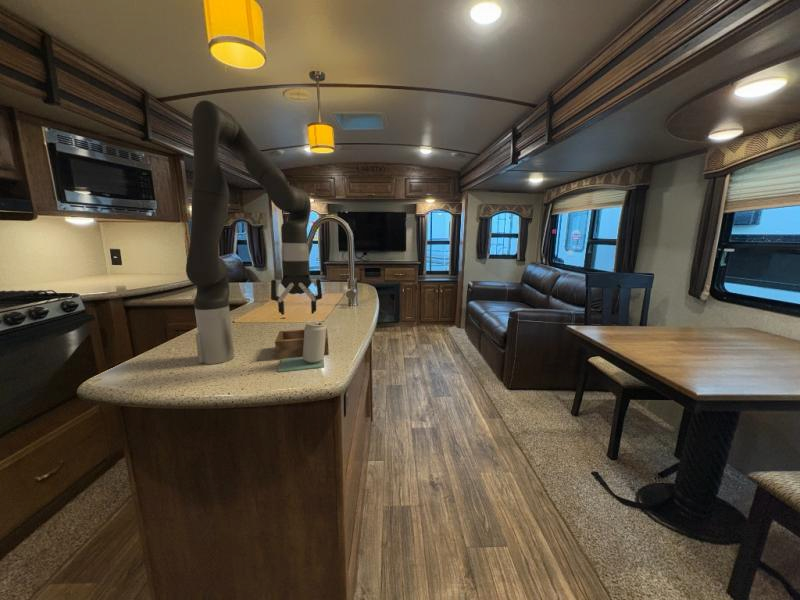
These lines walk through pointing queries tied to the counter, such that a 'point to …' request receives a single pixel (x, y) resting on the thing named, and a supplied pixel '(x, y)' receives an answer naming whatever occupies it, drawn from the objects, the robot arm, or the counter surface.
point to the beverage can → (314, 341)
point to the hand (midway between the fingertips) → (298, 313)
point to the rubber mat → (298, 364)
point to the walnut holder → (293, 344)
